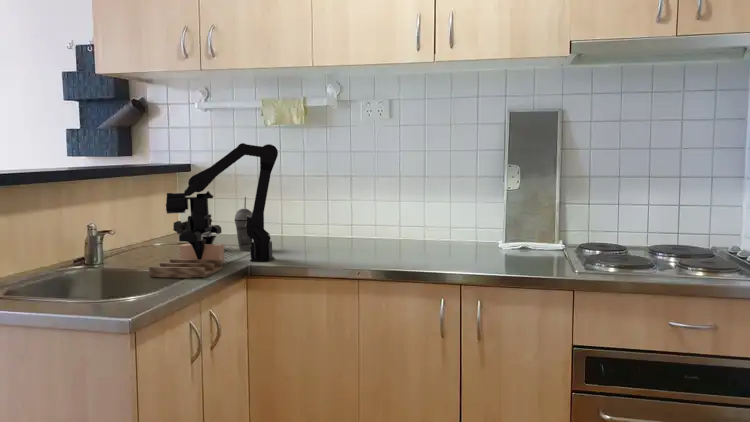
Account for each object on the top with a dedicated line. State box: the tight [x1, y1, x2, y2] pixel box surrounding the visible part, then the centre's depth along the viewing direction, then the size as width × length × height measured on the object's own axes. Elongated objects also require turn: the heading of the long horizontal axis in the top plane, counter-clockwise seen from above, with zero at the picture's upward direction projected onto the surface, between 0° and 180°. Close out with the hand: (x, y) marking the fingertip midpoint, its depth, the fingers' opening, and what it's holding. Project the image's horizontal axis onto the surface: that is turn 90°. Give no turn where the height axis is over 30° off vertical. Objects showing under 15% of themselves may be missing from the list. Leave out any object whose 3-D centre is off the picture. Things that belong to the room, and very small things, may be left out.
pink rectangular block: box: [179, 243, 225, 263], centre depth 202 cm, size 14×4×6 cm, turn 78°
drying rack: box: [148, 258, 224, 279], centre depth 188 cm, size 18×13×3 cm
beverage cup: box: [234, 196, 253, 252], centre depth 225 cm, size 7×7×20 cm
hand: (202, 258), depth 202 cm, fingers closed on pink rectangular block, 3 cm apart
